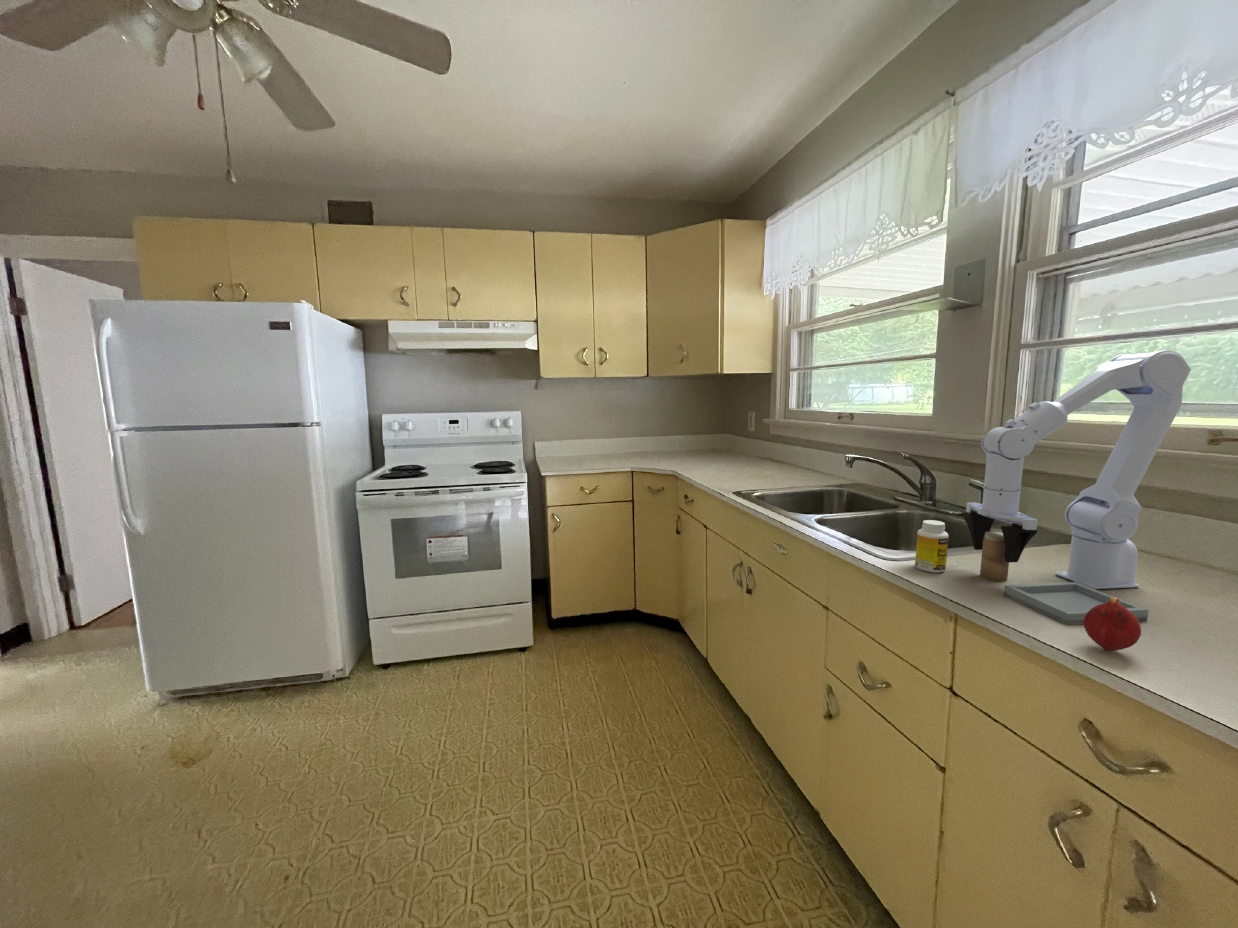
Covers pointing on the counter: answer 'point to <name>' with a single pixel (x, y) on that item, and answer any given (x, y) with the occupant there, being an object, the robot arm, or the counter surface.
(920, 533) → the supplement bottle
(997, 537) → the shaker
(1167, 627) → the counter surface
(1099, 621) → the onion
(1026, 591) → the tray
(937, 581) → the counter surface
